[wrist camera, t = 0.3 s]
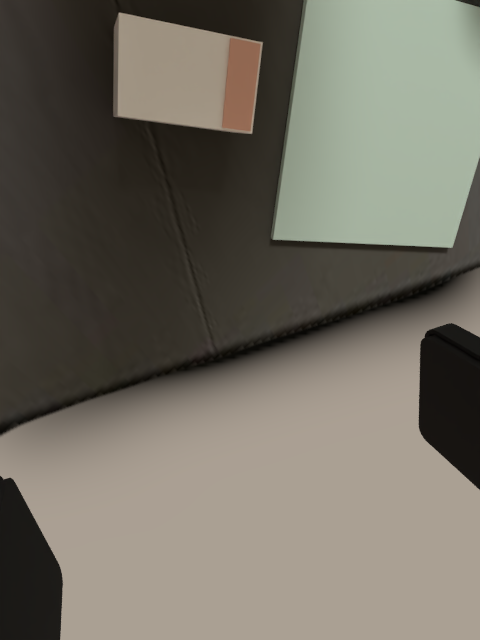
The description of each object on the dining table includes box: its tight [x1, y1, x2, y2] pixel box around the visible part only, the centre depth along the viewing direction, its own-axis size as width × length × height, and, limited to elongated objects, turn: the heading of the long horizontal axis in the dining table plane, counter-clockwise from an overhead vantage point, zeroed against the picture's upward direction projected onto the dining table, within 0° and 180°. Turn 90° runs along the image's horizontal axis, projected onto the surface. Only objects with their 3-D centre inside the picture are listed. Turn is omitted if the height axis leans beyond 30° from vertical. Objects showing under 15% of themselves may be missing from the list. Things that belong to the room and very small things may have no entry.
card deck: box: [113, 13, 263, 134], centre depth 30 cm, size 6×9×5 cm, turn 83°
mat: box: [271, 0, 480, 248], centre depth 39 cm, size 20×20×1 cm
